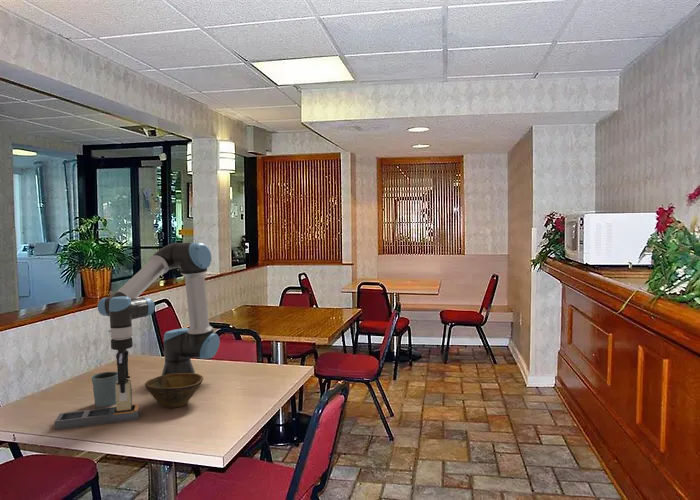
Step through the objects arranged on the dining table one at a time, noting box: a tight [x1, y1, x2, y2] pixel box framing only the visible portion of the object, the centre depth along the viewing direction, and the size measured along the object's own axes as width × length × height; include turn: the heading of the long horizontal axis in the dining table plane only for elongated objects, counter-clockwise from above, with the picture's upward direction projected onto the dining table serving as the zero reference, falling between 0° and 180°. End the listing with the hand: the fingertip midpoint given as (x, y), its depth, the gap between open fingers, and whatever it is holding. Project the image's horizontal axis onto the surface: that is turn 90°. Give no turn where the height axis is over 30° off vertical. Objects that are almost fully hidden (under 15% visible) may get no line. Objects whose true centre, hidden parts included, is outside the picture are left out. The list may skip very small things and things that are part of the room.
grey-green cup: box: [91, 371, 118, 408], centre depth 218 cm, size 10×10×12 cm
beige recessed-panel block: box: [115, 378, 133, 411], centre depth 202 cm, size 5×5×10 cm
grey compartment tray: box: [54, 403, 141, 431], centre depth 199 cm, size 28×9×3 cm, turn 108°
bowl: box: [144, 372, 204, 409], centre depth 216 cm, size 22×23×10 cm
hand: (124, 398), depth 202 cm, fingers closed on beige recessed-panel block, 5 cm apart
